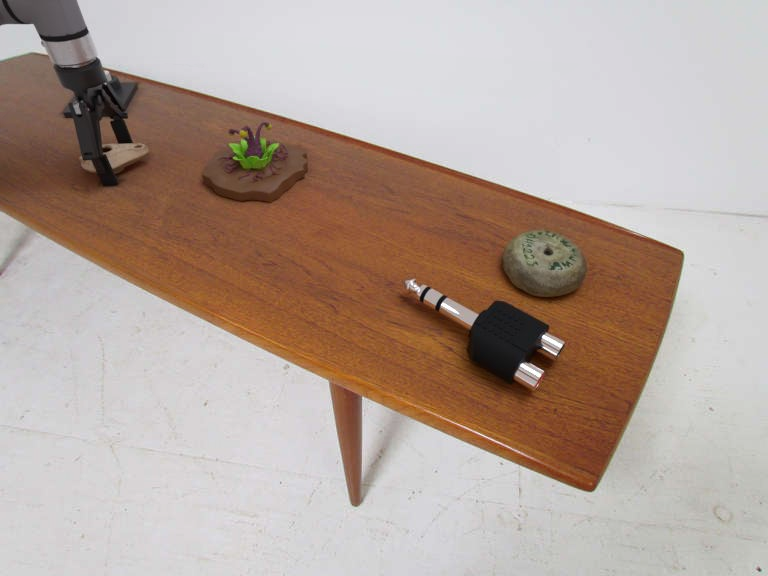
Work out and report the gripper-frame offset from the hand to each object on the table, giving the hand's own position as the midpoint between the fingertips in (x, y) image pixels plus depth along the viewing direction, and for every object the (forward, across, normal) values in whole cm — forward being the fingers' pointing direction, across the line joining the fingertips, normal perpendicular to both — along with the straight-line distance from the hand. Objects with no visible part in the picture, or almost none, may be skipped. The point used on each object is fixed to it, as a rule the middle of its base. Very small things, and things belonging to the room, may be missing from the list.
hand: (120, 166), depth 102 cm
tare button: (-3, -37, -12) cm, 40 cm away
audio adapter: (+1, +50, +62) cm, 79 cm away
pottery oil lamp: (+1, 0, 0) cm, 1 cm away
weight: (+2, +38, +77) cm, 86 cm away
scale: (0, -32, -12) cm, 34 cm away
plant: (+1, +4, +28) cm, 28 cm away
